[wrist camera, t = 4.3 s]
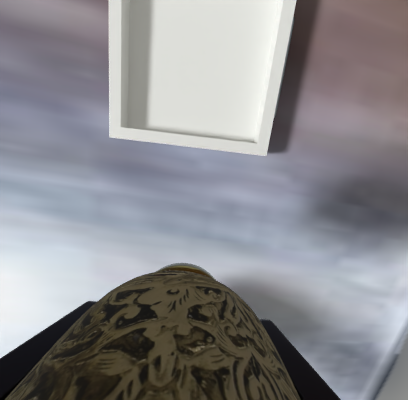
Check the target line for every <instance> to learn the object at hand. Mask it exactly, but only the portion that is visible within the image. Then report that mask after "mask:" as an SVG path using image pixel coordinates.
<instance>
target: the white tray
mask: <svg viewBox="0 0 408 400" xmlns="http://www.w3.org/2000/svg"><path fill="white" fill-rule="evenodd" d="M296 1H297V0H109V137H111V138H120V139H128V140H136V141H145V142H153V143H162V144H170V145H178V146H187V147H195V148H203V149H212V150H220V151H228V152H237V153H245V154H253V155H262V156H267V150H268V145H269V140H270V135H271V130H272V125H273V119H274V117H276V112H277V107H278V102H279V97H280V92H281V87H282V82H283V77H284V72H285V66H286V61H287V56H288V51H289V46H290V41H291V36H292V31H293V25H294V20H295V17H293V16H294V11H295V6H296Z"/></svg>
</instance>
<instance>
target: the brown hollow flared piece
mask: <svg viewBox="0 0 408 400" xmlns="http://www.w3.org/2000/svg"><path fill="white" fill-rule="evenodd" d="M5 400H300V397H299V395H298V393H297V391H296V389H295V387H294V385H293V382H292V380H291V378H290V376H289V374H288V372H287V370H286V368H285V366H284V364H283V362H282V360H281V358H280V356H279V354H278V352H277V350H276V348H275V346H274V344H273V342H272V341H271V339H270V337H269V335H268V333H267V332H266V330H265V328H264V327H263V325H262V324H261V322H260V321H259V319H258V318H257V316H256V315H255V313H254V312H253V311H252V310H251V308H250V307H249V306H248V305H247V304H246V303H245V302H244V301H243V300H242V299H241V298H240V297H239V296H238V295H237V294H236V293H235V292H233V291H232V290H231V289H229V288H228V287H226V286H225V285H223V284H221V283H220V282H218V281H216V280H215V279H214V277H213V276H212V275H211V274H210V273H209V272H207V271H206V270H204V269H203V268H201V267H199V266H196V265H193V264H188V263H175V264H170V265H167V266H165V267H163V268H161V269H159V270H158V271H156V272H154V273H150V274H146V275H142V276H139V277H136V278H134V279H132V280H130V281H128V282H126V283H124V284H122V285H120V286H118V287H117V288H115V289H113V290H112V291H110V292H109V293H108V294H106V295H105V296H104V297H103V298H101V299H100V300H99V301H98V302H97V303H95V304H94V305H93V306H92V307H91V308H89V309H88V310H87V311H86V312H85V313H84V314H83V315H82V316H81V317H80V318H79V319H78V320H77V321H76V322H75V323H74V324H73V325H72V326H71V327H70V328H69V329H68V330H67V331H66V333H65V334H64V335H63V336H62V337H61V338H60V339H59V340H58V341H57V342H56V343H55V344H54V345H53V347H52V348H51V349H50V350H49V351H48V352H47V353H46V354H45V355H44V356H43V358H42V359H41V360H40V361H39V362H38V363H37V364H36V365H35V366H34V367H33V369H32V370H31V371H30V372H29V373H28V374H27V375H26V376H25V377H24V379H23V380H22V381H21V382H20V383H19V384H18V385H17V386H16V387H15V389H14V390H13V391H12V392H11V393H10V394H9V395H8V396H7V397H6V399H5Z"/></svg>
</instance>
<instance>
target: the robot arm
mask: <svg viewBox="0 0 408 400" xmlns="http://www.w3.org/2000/svg"><path fill="white" fill-rule="evenodd" d="M95 303H97V302H94V301H88V302H86V303H84V304H83V305H81V306H80V307H78V308H77V309H75V310H74V311H72V312H70V313H69V314H67V315H66V316H64V317H63V318H61V319H60V320H58V321H57V322H55V323H54V324H52V325H51V326H49V327H48V328H46V329H45V330H43V331H41V332H40V333H38V334H37V335H35V336H34V337H32V338H31V339H29V340H28V341H26V342H25V343H23V344H22V345H20V346H19V347H17V348H15V349H14V350H12V351H11V352H9V353H8V354H6V355H5V356H3V357H2V358H0V400H5V399H6V397H7V396H8V395H9V394H10V393H11V392H12V391H13V390H14V389H15V387H16V386H17V385H18V384H19V383H20V382H21V381H22V380H23V379H24V377H25V376H26V375H27V374H28V373H29V372H30V371H31V370H32V369H33V367H34V366H35V365H36V364H37V363H38V362H39V361H40V360H41V359H42V358H43V356H44V355H45V354H46V353H47V352H48V351H49V350H50V349H51V348H52V347H53V345H54V344H55V343H56V342H57V341H58V340H59V339H60V338H61V337H62V336H63V335H64V334H65V333H66V331H67V330H68V329H69V328H70V327H71V326H72V325H73V324H74V323H75V322H76V321H77V320H78V319H79V318H80V317H81V316H82V315H83V314H84V313H85V312H86V311H87V310H88V309H89V308H91V307H92V306H93V305H94V304H95ZM260 322H261V324H262V325H263V327H264V328H265V330H266V332H267V333H268V335H269V337H270V339H271V341H272V342H273V344H274V346H275V348H276V350H277V352H278V354H279V356H280V358H281V360H282V362H283V364H284V366H285V368H286V370H287V372H288V374H289V376H290V378H291V380H292V382H293V385H294V387H295V389H296V391H297V393H298V395H299V397H300V400H341V399H340V398H339V397H338V396H337V395H336V394H335V393H334V391H333V390H332V389H331V388H330V387H329V386H328V385H327V384H326V382H325V381H324V380H323V379H322V378H321V377H320V376H319V374H318V373H317V372H316V371H315V370H314V369H313V368H312V367H311V365H310V364H309V363H308V362H307V361H306V360H305V359H304V357H303V356H302V355H301V354H300V353H299V352H298V351H297V350H296V348H295V347H294V346H293V345H292V344H291V343H290V342H289V340H288V339H287V338H286V337H285V336H284V335H283V334H282V333H281V331H280V330H279V329H278V328H277V327H276V326H275V325H274V323H273V322H272V321H270V320H266V319H261V320H260Z"/></svg>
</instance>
